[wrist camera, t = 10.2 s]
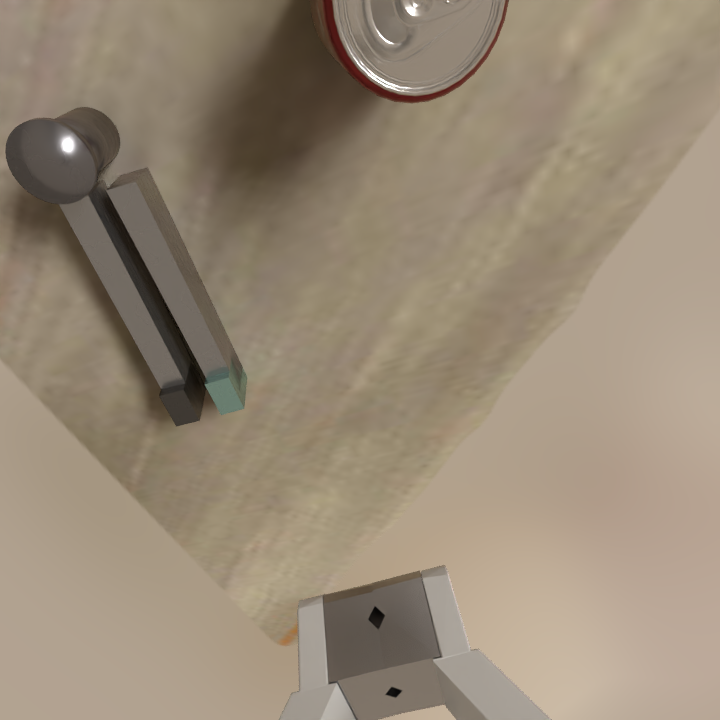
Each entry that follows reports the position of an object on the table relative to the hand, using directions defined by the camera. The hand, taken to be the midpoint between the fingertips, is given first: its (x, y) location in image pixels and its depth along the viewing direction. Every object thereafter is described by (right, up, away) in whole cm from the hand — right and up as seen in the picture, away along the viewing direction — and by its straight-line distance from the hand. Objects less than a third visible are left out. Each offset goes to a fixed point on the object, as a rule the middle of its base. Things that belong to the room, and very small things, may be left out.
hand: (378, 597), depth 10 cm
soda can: (0, +25, +19) cm, 31 cm away
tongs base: (-15, +11, +26) cm, 32 cm away
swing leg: (-12, +10, +27) cm, 31 cm away
